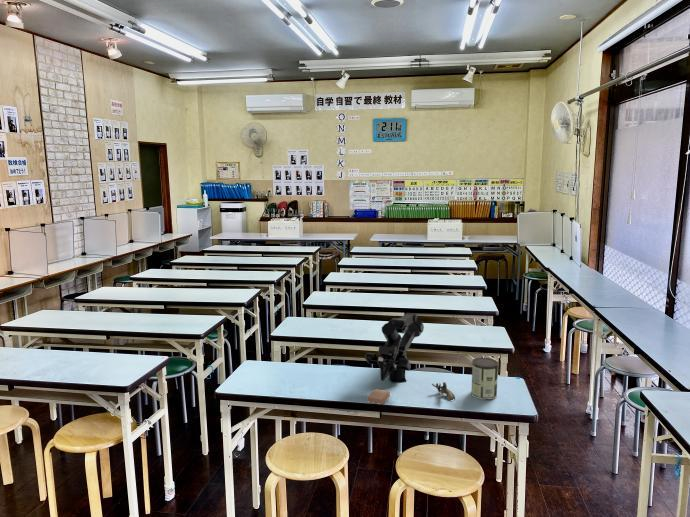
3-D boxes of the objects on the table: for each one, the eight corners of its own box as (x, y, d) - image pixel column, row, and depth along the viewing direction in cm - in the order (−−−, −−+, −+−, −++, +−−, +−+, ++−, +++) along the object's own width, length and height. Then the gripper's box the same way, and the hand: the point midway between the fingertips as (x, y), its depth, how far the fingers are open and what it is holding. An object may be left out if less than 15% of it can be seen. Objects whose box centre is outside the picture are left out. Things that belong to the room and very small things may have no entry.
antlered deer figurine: (428, 392, 208) (442, 397, 200) (434, 376, 210) (449, 379, 202) (441, 399, 211) (456, 403, 204) (446, 383, 213) (462, 386, 205)
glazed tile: (375, 388, 210) (367, 396, 202) (389, 391, 207) (382, 399, 200) (375, 394, 210) (367, 402, 203) (389, 397, 207) (382, 405, 200)
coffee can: (482, 387, 216) (484, 355, 214) (502, 396, 207) (504, 363, 205) (465, 393, 210) (466, 360, 208) (484, 402, 202) (486, 368, 200)
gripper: (366, 334, 213) (355, 368, 205) (409, 340, 205) (399, 376, 197) (373, 346, 221) (363, 379, 213) (415, 352, 213) (405, 387, 205)
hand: (382, 380), depth 207 cm, fingers closed
